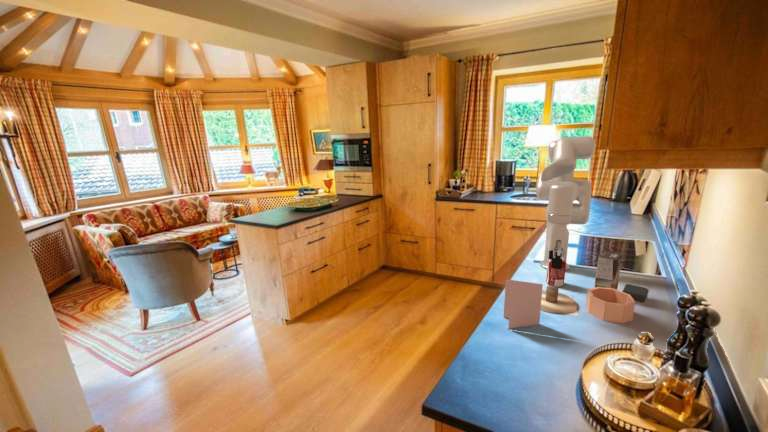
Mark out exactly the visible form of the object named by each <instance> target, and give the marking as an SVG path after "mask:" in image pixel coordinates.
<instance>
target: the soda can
mask: <svg viewBox="0 0 768 432" xmlns="http://www.w3.org/2000/svg"><path fill="white" fill-rule="evenodd" d="M566 263H567V262H566ZM566 263H565V259H564V258H562V268H561V269H553V268H551V264H552V260H550V259H549V260H548V267H547V269H546V279H545V282H546V284H547V286H554V287H557V288H561V287H564V286H565V279H566V277H565V276H566V271H565V269H566Z"/></svg>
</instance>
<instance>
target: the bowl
mask: <svg viewBox="0 0 768 432" xmlns="http://www.w3.org/2000/svg"><path fill="white" fill-rule="evenodd" d="M622 291H623V290H618V289H617V290H616V289H612V288H603V287H595V288H594V287H592V288H589V289H587V293H586V301H585V307H586V311H587V314H589V315H591V316H593V317H596V318H597V319H599V320H602V321H603V322H610V323H618V324H625V323H627V322H632V321H633V318H634V313H635V306H636V301H634V299H633V298H632V297H631V295H629V294H627V293H624V292H622Z"/></svg>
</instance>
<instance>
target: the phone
mask: <svg viewBox="0 0 768 432" xmlns="http://www.w3.org/2000/svg"><path fill="white" fill-rule="evenodd" d="M648 290H649V289H648V288H647V287H643V286H640V285H634V284H629V283H626V284H625V285H624V287H623V289H622V290H621V291H622V292H624V293H627V294H629V295H631V297H632V298H633V299H634V301H635V302H638V303H644V302H645V301H646V296H647V293H648Z"/></svg>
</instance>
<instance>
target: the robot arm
mask: <svg viewBox="0 0 768 432" xmlns="http://www.w3.org/2000/svg"><path fill="white" fill-rule="evenodd" d="M547 148H548V149H547V151H548V157H549V160H550V164H548V165H546V166H545V167H544V168H543V169H542V170H541V171H540V173H539V174H538V177H537V182H536V188H535V189H536V190H535V194H536V195H535V196H536V197H537V199H539V200H541V201H545V202H546V201H548V205H547V206H546V210H545V216H546V233H545V245H544V246H545V247H544V258H543V260H541V261H540V264H539V265H540V266H541V268H543V269H545V270H547V267H548V260H549V259H550V260H552V264H551V268H553V269H561V268H562V258H564V259H565V263H566V269H565V272H566V271H569V269H570V265H569V264H568V263H567V258H568V248H569V239H570V232H569V229H568V228H567V227H568V225H581V226H582V225H586V224H588V223H589V219H590V212H591V202H592V184H591V182H590V181H589V180H586V179H577V178H575V179H574V174H575V170H576V168H577V162H578V161H577V160H589V159H591V158H592V157H593V156H594V155H595V151H596V142H595V139H594V138H593V137H592V136H587V135H586V136H585V135H584V136H582V135H581V136H564V137H560V138H558V139H557V140H554V141H551V142H550V143H549V145H548V146H547ZM575 201H576V202H578V203H574V202H575Z"/></svg>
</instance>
